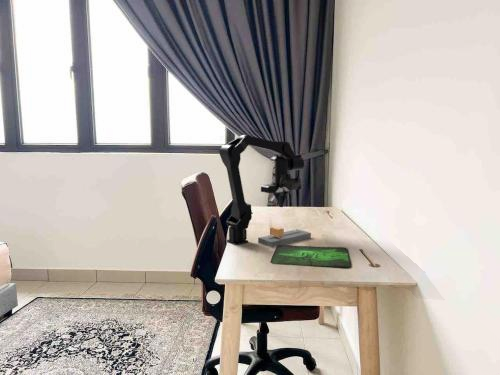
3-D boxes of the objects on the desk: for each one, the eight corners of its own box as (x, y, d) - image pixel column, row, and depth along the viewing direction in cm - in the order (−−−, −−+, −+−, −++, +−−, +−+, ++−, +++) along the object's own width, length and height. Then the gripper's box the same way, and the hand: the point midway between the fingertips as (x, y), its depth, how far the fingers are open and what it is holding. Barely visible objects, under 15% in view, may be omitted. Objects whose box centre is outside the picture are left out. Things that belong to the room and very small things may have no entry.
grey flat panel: (271, 247, 146) (271, 241, 146) (258, 242, 153) (258, 237, 152) (310, 237, 160) (310, 232, 159) (297, 233, 166) (297, 228, 166)
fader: (277, 238, 150) (277, 229, 150) (269, 235, 154) (269, 227, 153) (283, 236, 152) (283, 228, 152) (275, 234, 156) (275, 225, 155)
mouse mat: (268, 265, 128) (268, 262, 128) (276, 246, 149) (276, 243, 149) (352, 269, 123) (352, 266, 123) (347, 249, 144) (347, 246, 144)
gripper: (277, 174, 149) (277, 212, 152) (310, 171, 161) (309, 207, 163) (260, 171, 158) (259, 208, 160) (292, 169, 169) (291, 203, 172)
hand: (281, 207), depth 164 cm, fingers closed
